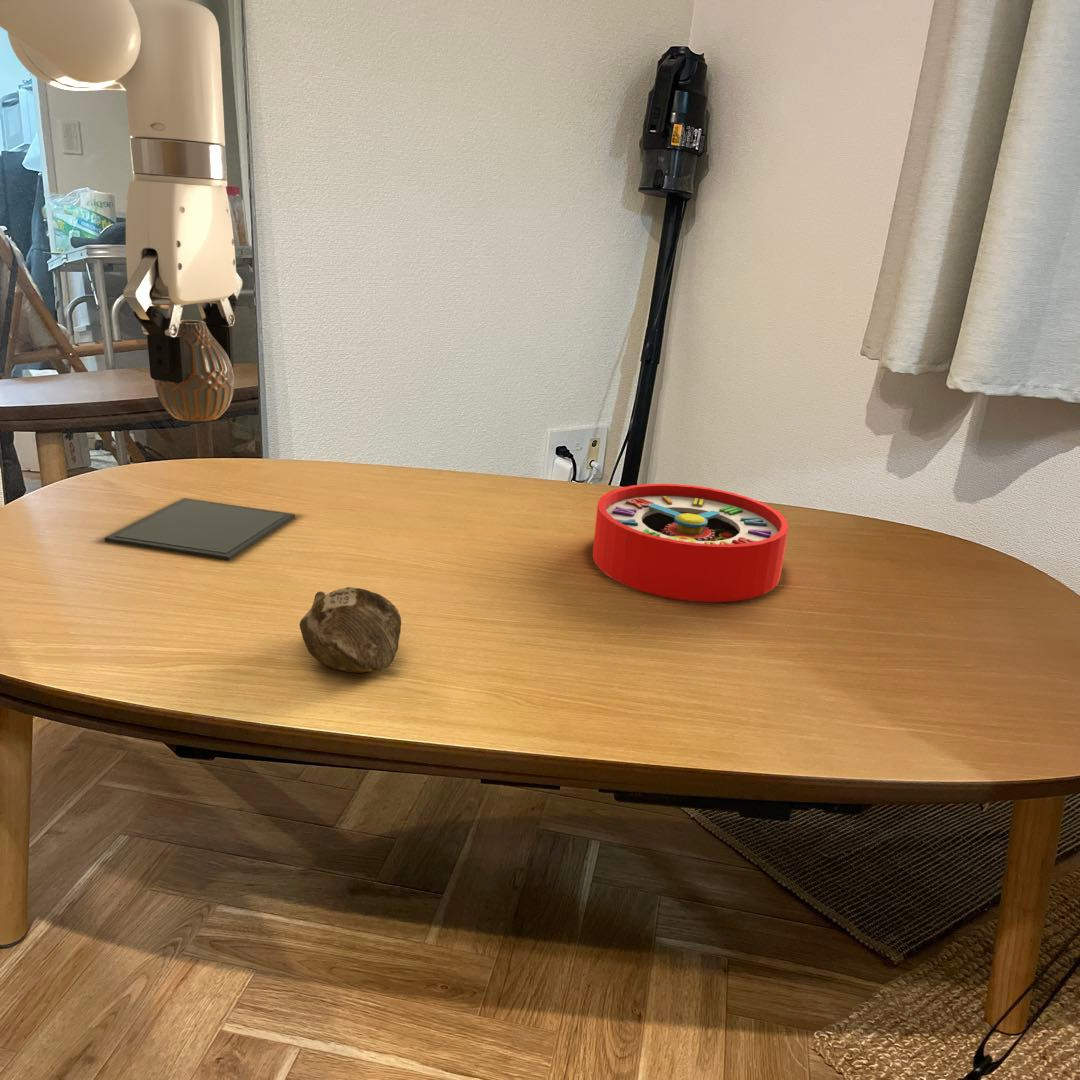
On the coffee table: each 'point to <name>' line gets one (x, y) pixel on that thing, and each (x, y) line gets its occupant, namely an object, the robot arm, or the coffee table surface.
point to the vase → (199, 377)
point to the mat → (202, 529)
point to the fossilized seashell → (352, 630)
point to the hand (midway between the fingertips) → (193, 372)
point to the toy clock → (689, 542)
